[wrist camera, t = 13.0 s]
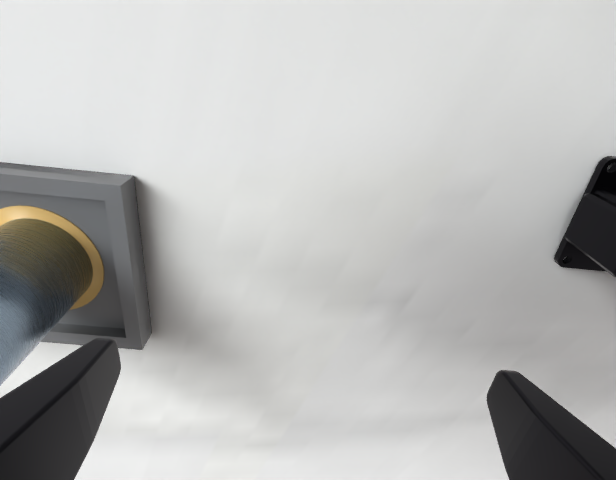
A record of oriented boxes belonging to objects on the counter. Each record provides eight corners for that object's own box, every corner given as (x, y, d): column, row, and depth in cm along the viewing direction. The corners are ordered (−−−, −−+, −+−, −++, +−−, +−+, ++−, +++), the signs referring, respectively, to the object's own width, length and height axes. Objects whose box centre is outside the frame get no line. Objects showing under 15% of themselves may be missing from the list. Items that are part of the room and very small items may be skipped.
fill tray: (133, 175, 20) (120, 185, 19) (151, 332, 25) (142, 349, 24) (-79, 154, 20) (-109, 162, 18) (-17, 318, 25) (-37, 335, 23)
